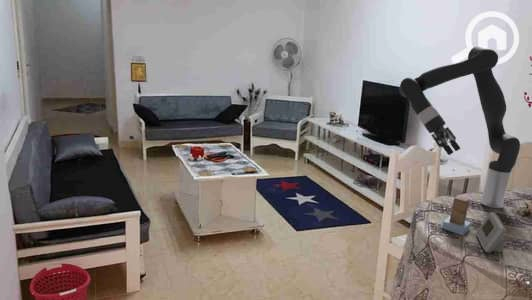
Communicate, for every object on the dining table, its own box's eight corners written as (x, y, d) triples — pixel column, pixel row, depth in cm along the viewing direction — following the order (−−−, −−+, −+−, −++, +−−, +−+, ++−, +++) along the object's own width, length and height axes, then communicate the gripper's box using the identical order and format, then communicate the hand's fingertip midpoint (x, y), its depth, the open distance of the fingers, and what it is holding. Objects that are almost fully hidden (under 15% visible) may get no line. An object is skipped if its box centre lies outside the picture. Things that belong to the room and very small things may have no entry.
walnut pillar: (453, 218, 174) (458, 195, 171) (464, 222, 171) (469, 198, 168) (449, 221, 170) (454, 198, 168) (461, 225, 168) (466, 201, 165)
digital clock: (475, 233, 169) (481, 208, 166) (501, 239, 165) (507, 214, 162) (474, 251, 155) (481, 223, 152) (503, 258, 151) (509, 230, 148)
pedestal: (449, 222, 177) (450, 215, 176) (469, 229, 172) (470, 222, 171) (442, 228, 171) (443, 221, 170) (463, 235, 166) (464, 228, 165)
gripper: (432, 116, 171) (456, 150, 168) (444, 112, 182) (468, 143, 178) (417, 126, 176) (441, 160, 172) (430, 122, 187) (453, 153, 183)
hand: (454, 151), depth 175 cm, fingers open, 8 cm apart
